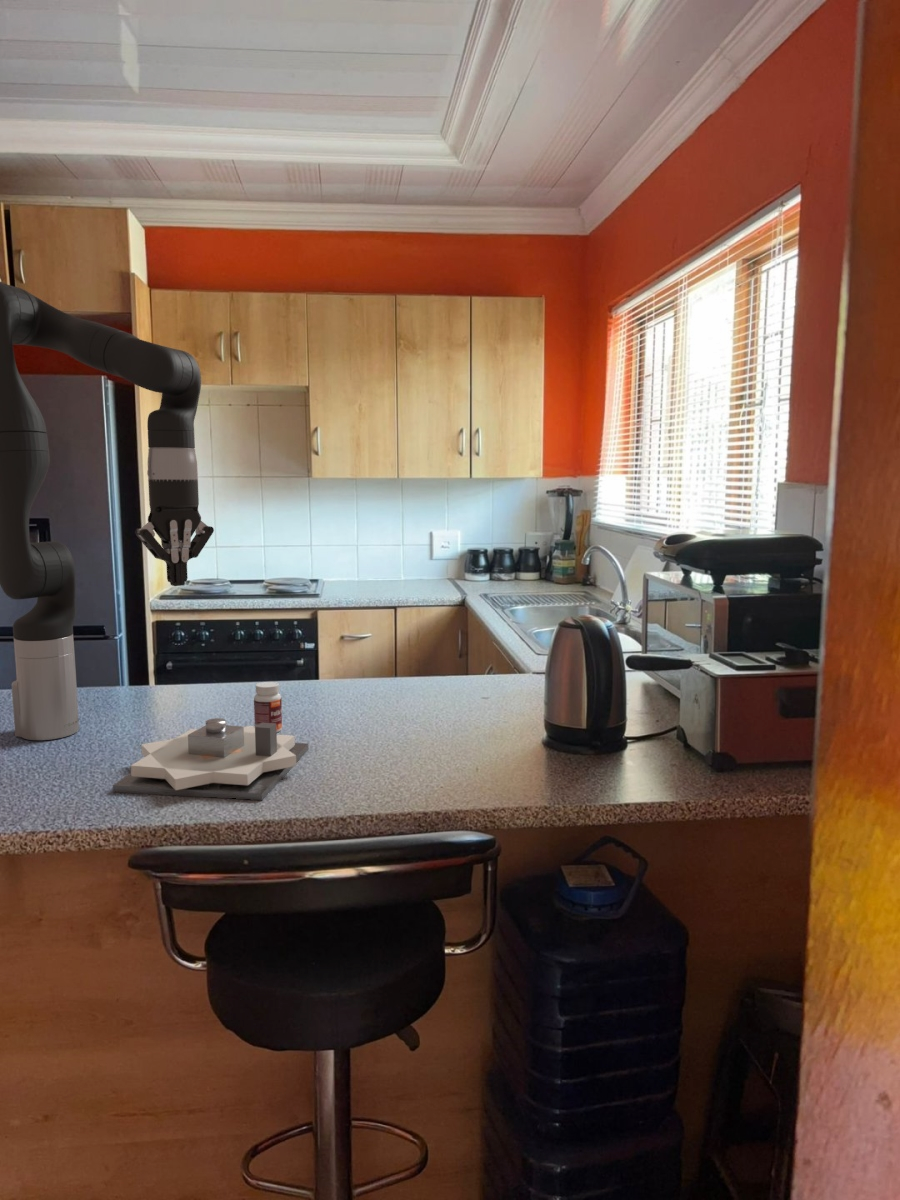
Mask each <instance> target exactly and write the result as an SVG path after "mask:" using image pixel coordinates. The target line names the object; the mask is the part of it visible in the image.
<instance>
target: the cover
mask: <svg viewBox="0 0 900 1200" xmlns="http://www.w3.org/2000/svg"><path fill="white" fill-rule="evenodd" d="M244 727H245V726H241V725H240V726H239V725H230V724H227V720H226V719H225V718H221V717H220V718H218V717H217V718H211V719H207V720H205V725H204V726H201V727H200V728H197V729H198V730H196V731H194V732H192V733H190V734H188V752H189V754H193V755H202V756H212V757H222V758H225V757H226V756H228V755H230V754H231V753H233V752H234V751H236V750H237V749H239V748H241V747H242V746H244Z"/></svg>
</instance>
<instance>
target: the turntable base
mask: <svg viewBox="0 0 900 1200" xmlns="http://www.w3.org/2000/svg"><path fill="white" fill-rule="evenodd" d="M289 751H290V752H292V753H293V754H295V755H296V764H297V763H298V761H300V759H301V758H302V757H303V756H304V755H305V754H306V753H307V752H309V743H302V742H300V743H299V742H295V746H293V747H292V748H291V749H290V750H289ZM293 767H294V766H292V767H288V768H283V769H278V770H273V771H268V772H263V773H262V774H261V775H260V776H258V777H257V778H256V779H255V780H254V781H252V782H251V783H250V784H249V785H236V784H223V783H209V784H204V785H199V786H194V787H189V788H185V789H180V790H175V789H174V788H173V787H172V786H171V785H170V784H169V783H168V782H167V781H166V779H161V778H148V777H136V776H131V772H130V773H128V774H127V775H126V776H124V777H123V778H121V779H120V780H118V781H117V782H116V783H114V784H112V791H113V793H121V794H122V793H125V794H137V795H138V794H139V795H143V794H144V795H156V794H157V795H158V796H173V795H174V796H175V795H176V797H177V796H178V797H190V796H191V797H192V798H208V797H217V798H216V799H225V798H236V799H235V800H243V799H253V800H252V801H261V800H262V801H264V799H265V798H266V797H267V796H268V795H269V794H270V792H272V791H273V789H275V787H276V786H277V785H278V784H279V783H280V782H281V781H282V779H283V778H284V777H285V776H286V775H287V774H288V773H289V772H290V770H291V769H293ZM278 782H279V783H278ZM277 783H278V784H277ZM276 784H277V785H276ZM275 785H276V786H275ZM268 793H269V794H268ZM267 794H268V795H267ZM157 795H156V796H157ZM266 795H267V796H266ZM265 796H266V797H265ZM264 797H265V798H264Z"/></svg>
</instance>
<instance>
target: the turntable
mask: <svg viewBox="0 0 900 1200" xmlns="http://www.w3.org/2000/svg"><path fill="white" fill-rule="evenodd" d="M243 727H244V746H242V747H241V748H239V749H237V750H236V751H234V752H233V753H231V754H230V755H228V756H226V757H225V758H222V757H212V756H202V755H193V754H189V752H188V734H190V733H192V732H194V731H196V730H198V729H199V728H191V729H189V730H188V731H187V730H186V732H184V733H182V734H181V735H179V736H177V737H176V738H171V739H165V740H159V741H158V740H157V741H153V742H148V743H142V744H141V745H140V747H141V754H142V756H143V757H142V758H141V759H139V760H138V761H136V762H135V763H132V764H130V773H131V776H136V777H148V778H161V779H166V781H167V782H168V783H169V784H170V785H171V786H172V787H173V788H174V789H175V790H180V789H185V788H189V787H194V786H199V785H204V784H209V783H223V784H236V785H249V784H250V783H251V782H252V781H254V780H255V779H256V778H257V777H258V776H260V775H261V774H262V773H263V772H268V771H273V770H278V769H283V768H288V767H292V766H293V767H296V766H297V763H296V755H295V754H293V753H292V752H290V751H289V750H290V749H291V748H292V747H293V746H295V743H296V739H295V737H296V736H295V735H291V734H290V735H289V734H287V735H286V734H277V733H278V732H277V729H276V723H260V724H259V725H257V726H256V727H255V726H253V725H247V726H243ZM293 767H292V768H293Z"/></svg>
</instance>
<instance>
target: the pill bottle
mask: <svg viewBox="0 0 900 1200" xmlns="http://www.w3.org/2000/svg"><path fill="white" fill-rule="evenodd" d="M279 692H280V683H278V682H276V681H265V682H264V681H262V682H258V683H256V684H255V693H256V694H255V695H254V697H253V710H254V711H253V713H254V717H253V718H254V727H256V726H257V725H259V724H260V723H276V729H277V733H280V732H281V731H282V730H283V720H282V719H283V716H282V715H283V714H282V713H283V711H282V705H283V704H282V701H283V700H282V696H281V694H280V693H279Z"/></svg>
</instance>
